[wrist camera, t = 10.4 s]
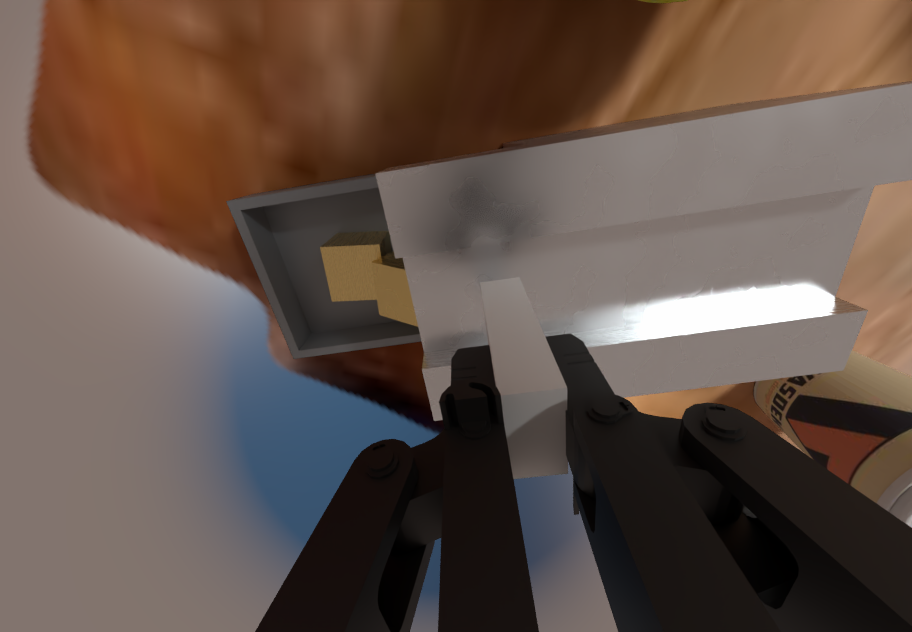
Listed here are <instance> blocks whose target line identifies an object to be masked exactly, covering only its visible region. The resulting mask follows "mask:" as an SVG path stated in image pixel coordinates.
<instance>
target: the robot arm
mask: <svg viewBox="0 0 912 632" xmlns="http://www.w3.org/2000/svg"><path fill="white" fill-rule="evenodd" d="M480 285H481V293H482V301H483V309H484V317H485V324H486V332H487V340H488V345H484V346H476V347H468V348H460V349H458V350H457V351H456V353H455V354H454V356H453V357H452V359H451V386H449V387H448V388H447V389H446V390H445V391H444V392H443V393H442V394H441V397H440V400H439V405H440V409H441V414H442V418H443V423H444V427H445V429H444V430H443V431H442V432H441V433H440V434H439V435H437V436H436V437H435V438H433V439H432V440H429V441H427V442H425V443H423V444H420V445H418V446H415V447H412V448H410V446H408V445H407V444H406V443H405V442H403V441H400V440H396V439H389V440H382V441H379V442H376V443H373V444H371V445H370V446H369V447H367V448H366V449H364V450H363V451H362V452H361V453H360V454H359V455H358V457H357V458H356V459H355V460H354V462H353V464H352V465H351V467H350V469H349V471H348V472H347V474H346V476H345V478H344V479H343V481H342V483H341V484H340V486H339V488H338V490H337V491H336V493H335V495H334V497H333V498H332V500H331V502H330V503H329V505H328V507H327V509H326V510H325V512H324V514H323V516H322V517H321V519H320V521H319V522H318V524H317V526H316V528H315V529H314V531H313V533H312V535H311V536H310V538H309V540H308V541H307V543H306V545H305V547H304V548H303V550H302V552H301V553H300V555H299V557H298V559H297V560H296V562H295V564H294V566H293V567H292V569H291V571H290V572H289V574H288V576H287V578H286V579H285V581H284V583H283V585H282V586H281V588H280V590H279V591H278V593H277V595H276V597H275V598H274V600H273V602H272V604H271V605H270V607H269V609H268V611H267V612H266V614H265V616H264V617H263V619H262V621H261V623H260V624H259V626H258V628H257V629H256V631H255V632H410V629H411V625H412V622H413V618H414V615H415V611H416V607H417V604H418V600H419V597H420V593H421V590H422V586H423V582H424V579H425V575H426V572H427V568H428V564H429V561H430V557H431V554H432V550H433V546H434V542H435V540H437V539H439V538H441V563H440V564H441V565H440V592H439V593H440V594H439V621H438V632H539V630H538V624H537V618H536V612H535V606H534V600H533V595H532V588H531V582H530V576H529V570H528V564H527V558H526V553H525V546H524V540H523V534H522V528H521V522H520V516H519V510H518V504H517V498H516V492H515V486H514V480H513V479H518V478H528V477H538V476H548V475H558V474H567V473H568V462H569V465H570V468H571V471H572V474H573V508H574V515H576V514H579V511H580V514H581V517H582V520H583V523H584V526H585V529H586V533H587V535H588V539H589V542H590V545H591V548H592V551H593V554H594V557H595V561H596V563H597V567H598V570H599V573H600V576H601V579H602V582H603V585H604V589H605V592H606V595H607V598H608V601H609V604H610V607H611V610H612V613H613V617H614V620H615V623H616V626H617V629H618V632H912V528H911V527H910V526H909V525H907V524H906V523H904V522H903V521H901V520H900V519H898V518H897V517H895V516H894V515H893V514H891V513H890V512H888V511H887V510H885V509H884V508H882V507H881V506H880V505H878V504H877V503H875V502H874V501H872V500H871V499H869V498H868V497H867V496H865V495H864V494H862V493H861V492H859V491H858V490H856V489H855V488H854V487H852V486H851V485H849V484H848V483H846V482H845V481H843V480H842V479H841V478H839V477H838V476H836V475H835V474H833V473H832V472H830V471H829V470H828V469H826V468H825V467H823V466H822V465H820V464H819V463H817V462H816V461H815V460H813V459H812V458H810V457H809V456H807V455H806V454H804V453H803V452H801V451H800V450H799V449H797V448H796V447H794V446H793V445H791V444H790V443H788V442H787V441H786V440H784V439H783V438H781V437H780V436H778V435H777V434H775V433H774V432H773V431H771V430H770V429H768V428H767V427H765V426H764V425H762V424H761V423H760V422H758V421H757V420H755V419H754V418H752V417H751V416H749V415H747V414H745V413H743V412H742V411H740V410H738V409H735V408H732V407H729V406H725V405H722V404H714V403H702V404H695V405H693V406H691V407H689V408H687V409H686V410H685V413H684V415H683V417H682V419H676V418H668V417H659V416H653V415H648V414H644V413H641V412H638V410H637V409H636V408H635V407H634V406H633V404H632V403H631V402H630V401H628V400H626V399H624V398H622V397H621V396H619V395H615V394H614V392H613V390H612V389H611V387H610V385H609V384H608V382H607V380H606V379H605V377H604V375H603V374H602V372H601V370H600V369H599V367H598V365H597V364H596V362H594V359H593V357H592V356H591V354H589V351H588V349H587V347H586V346H585V344H584V342H583V341H582V340H580V339H579V338H577V337H576V336H574V335H572V334H571V333H570V334H562V335H554V336H546V337H545V335H544V333H543V331H542V328H541V326H540V324H539V321H538V319H537V317H536V314H535V312H534V310H533V308H532V305H531V303H530V301H529V298H528V296H527V294H526V291H525V289H524V287H523V284H522V282H521V280H520V277H516V278H509V279H502V280H495V281H488V282H480Z"/></svg>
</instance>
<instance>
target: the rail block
mask: <svg viewBox="0 0 912 632" xmlns="http://www.w3.org/2000/svg"><path fill="white" fill-rule="evenodd" d="M375 175H376V179H377V183H378V187H379V192H380V196H381V200H382V204H383V208H384V213H385V217H386V221H387V225H388V229H389V234H390V238H391V242H392V246H393V250H394V255H395V259H396V258H403V262H404V267H405V271H406V275H407V280H408V284H409V288H410V293H411V297H412V302H413V306H414V310H415V315H416V319H417V323H418V328H419V332H420V336H421V341H422V345H423V350H424V357H423V364H422V372H423V376H424V381H425V385H426V389H427V393H428V397H429V402H430V406H431V410H432V414H433V418H434V421H437V420H443V418H442V414H441V409H440V405H439V400H440V397H441V394H442V393H443V392H444V391H445V390H446V389H447V388H448V387H449V386H451V359H452V357H453V356H454V354H455V353H456V351H457V350H458V349H460V348H468V347H476V346H484V345H488V340H487V332H486V324H485V317H484V309H483V301H482V293H481V285H480V282H488V281H495V280H502V279H509V278H516V277H520V280H521V282H522V284H523V287H524V289H525V291H526V294H527V296H528V298H529V301H530V303H531V305H532V308H533V310H534V312H535V314H536V317H537V319H538V321H539V324H540V326H541V328H542V331H543V333H544V335H545V337H546V336H554V335H562V334H570V333H571V334H572V335H574V336H576V337H577V338H579V339H580V340H582V341H583V342H584V344H585V346H586V347H587V349H588V351H589V354H591V356H592V357H593V359H594V362H596V364H597V365H598V367H599V369H600V370H601V372H602V374H603V375H604V377H605V379H606V380H607V382H608V384H609V385H610V387H611V389H612V390H613V392H614V394H615V395H619V396H621V397H622V398H624V397H632V396H640V395H648V394H656V393H664V392H673V391H681V390H689V389H697V388H705V387H713V386H721V385H729V384H738V383H746V382H754V381H762V380H770V379H778V378H786V377H794V376H803V375H811V374H819V373H827V372H835V371H843V370H844V368H845V366H846V363H847V361H848V358H849V356H850V353H851V351H852V348H853V346H854V344H855V341H856V339H857V336H858V334H859V331H860V329H861V326H862V324H863V321H864V319H865V317H866V314H867V312H868V310H866V309H864V308H861V307H859V306H857V305H854V304H852V303H849V302H847V301H844V300H842V299H840V298H837V297H835V296H836V293H837V290H838V287H839V284H840V282H841V279H842V276H843V273H844V270H845V267H846V265H847V262H848V259H849V256H850V253H851V251H852V248H853V245H854V242H855V239H856V236H857V234H858V231H859V228H860V225H861V222H862V220H863V217H864V214H865V211H866V208H867V205H868V203H869V200H870V197H871V194H872V191H873V188H874V186H875V185H881V184H888V183H894V182H901V181H907V180H912V81H910V82H902V83H894V84H886V85H878V86H871V87H863V88H855V89H847V90H839V91H831V92H823V93H815V94H808V95H800V96H792V97H784V98H776V99H768V100H760V101H752V102H745V103H737V104H731V105H725V106H719V107H713V108H707V109H701V110H695V111H690V112H684V113H678V114H672V115H666V116H660V117H654V118H648V119H642V120H637V121H631V122H625V123H619V124H613V125H607V126H601V127H595V128H589V129H584V130H578V131H572V132H566V133H560V134H554V135H548V136H542V137H536V138H530V139H525V140H519V141H513V142H507V143H503V149H497V150H491V151H485V152H479V153H473V154H467V155H461V156H455V157H449V158H444V159H438V160H432V161H426V162H420V163H414V164H408V165H402V166H396V167H390V168H387V169H385V170H382V171H380V172H378V173H376V174H375Z"/></svg>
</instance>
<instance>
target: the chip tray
mask: <svg viewBox="0 0 912 632" xmlns="http://www.w3.org/2000/svg"><path fill="white" fill-rule="evenodd" d="M226 202H227V204H228V206H229V209H230V211H231V213H232V216H233V218H234V220H235V223H236V225H237V228H238V230H239V232H240V235H241V237H242V239H243V242H244V244H245V246H246V249H247V251H248V253H249V256H250V258H251V260H252V263H253V265H254V267H255V270H256V272H257V274H258V277H259V279H260V281H261V284H262V286H263V288H264V291H265V293H266V295H267V298H268V300H269V302H270V305H271V307H272V309H273V312H274V314H275V316H276V319H277V321H278V323H279V326H280V328H281V331H282V333H283V335H284V338H285V340H286V342H287V345H288V347H289V349H290V352H291V354H292V356H293V359H297V358H304V357H311V356H319V355H326V354H333V353H341V352H348V351H355V350H362V349H370V348H377V347H384V346H391V345H399V344H406V343H413V342H421V336H420V332H419V328H418V327H417V326H414V325H410V324H407V323H404V322H401V321H397V320H394V319H391V318H388V317H384V316H381V315H379V309H378V303H377V300H358V301H335V302H332V300H331V295H330V291H329V286H328V282H327V277H326V273H325V268H324V263H323V259H322V254H321V250H320V247H321V246H322V245H323V244H324V243H326V242H327V241H328V240H329V239H331V238H332V237H333V236H334V235H336V234H337V233H349V232H371V231H389V229H388V225H387V221H386V217H385V213H384V208H383V204H382V200H381V196H380V192H379V187H378V183H377V179H376V175H375V174H370V175H364V176H358V177H352V178H346V179H340V180H334V181H328V182H322V183H316V184H310V185H304V186H298V187H292V188H286V189H280V190H274V191H268V192H263V193H257V194H251V195H248V196H244V197H240V198H237V199H233V200H229V201H226ZM390 242H391V238H390ZM391 249H392V251H394V250H393V246H392V242H391Z"/></svg>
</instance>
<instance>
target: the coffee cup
mask: <svg viewBox="0 0 912 632" xmlns="http://www.w3.org/2000/svg"><path fill="white" fill-rule="evenodd" d="M754 398H755V401H756V403H757V405H758V406H759V407H760V408H761V409H762V410H763V411H764V413H765V414H766V415H767V416H768V417H769V418H770V419H771V420H772V421H773V422H774V423H775V424H776V425H777V426H778V427H779V428H780V429H781V430H782V431H783V432H784V433H785V434H786V435H787V436H788V437H789V438H790V439H791V440H792V441H793V442H794V443H795V444H796V445H797V446H798V447H799V448H800V449H801V450H802V451H803V452H804V453H805V454H806V455H807V456H809V457H810V458H812V459H813V460H815V461H816V462H817V463H819V464H820V465H822V466H823V467H825V468H826V469H828V470H829V471H830V472H832V473H833V474H835V475H836V476H838V477H839V478H841V479H842V480H843V481H845V482H846V483H848V484H849V485H851V486H852V487H854V488H855V489H856V490H858V491H859V492H861V493H862V494H864V495H865V496H867V497H868V498H869V499H871V500H872V501H874V502H875V503H877V504H878V505H880V506H881V507H882V508H884V509H885V510H887V511H888V512H890V513H891V514H893V515H894V516H895V517H897V518H898V519H900V520H901V521H903V522H904V523H906V524H907V525H909V526H910V527H911V528H912V377H910V376H908V375H906V374H904V373H902V372H899V371H897V370H895V369H893V368H890V367H888V366H886V365H884V364H882V363H879V362H877V361H875V360H873V359H870V358H868V357H866V356H864V355H862V354H859V353H857V352H855V351H851V353H850V356H849V358H848V361H847V363H846V366H845V368H844V370H843V371H835V372H827V373H819V374H811V375H803V376H794V377H786V378H778V379H770V380H762V381H756V382H755V386H754Z"/></svg>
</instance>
